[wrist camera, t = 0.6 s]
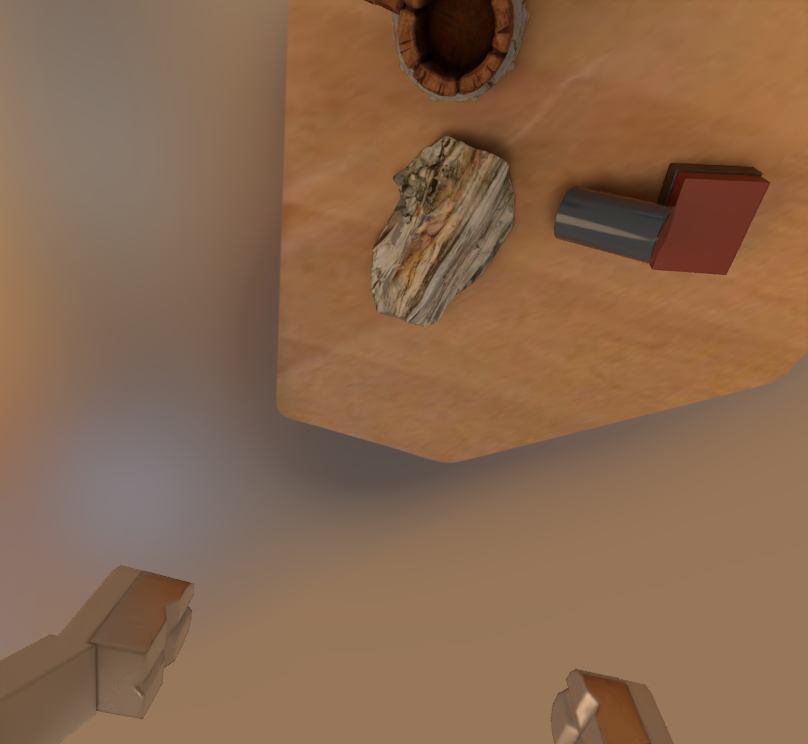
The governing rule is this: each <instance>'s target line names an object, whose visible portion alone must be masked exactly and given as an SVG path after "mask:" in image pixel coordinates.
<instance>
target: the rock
mask: <svg viewBox="0 0 808 744" xmlns="http://www.w3.org/2000/svg"><path fill="white" fill-rule="evenodd" d="M508 171H509V165H508V164H507V162H506V161H504V160H503V159H501V158H500V157H498V156H495V155H493V154H492V153H490V152H487V151H483V150H478V149H474V148H472V147H470V146H468V145H467V144H465V143H464V142H462V141H461V140H455V139H454V138H451V137H448V136H444V137H443V138H442V139H440V140H439V141H438V142H437V143H435V144H434V145H432V146H431V147H425V148H424V149H423V151H422V152H421V153H420V154H419V156H418V157H416V158H414V161H412V162H411V165H409V166H408V167H407V168H406V169H404V170H403V171H401V172H400V173H398V174H396V175H395V176H394V177H393V179H394V181H395V182H396V184H397V185H398V187H399V190H400V193H401V195H400V197H401V199H400V201H399V203H398V204H397V206H396V209H395V211H394V213H393V215H392V217H391V219H390V220H389V224H388V225H387V226H385V228H384V230H383V232H382V234H381V235H380V237H379V239H378V241H377V242H376V244H375V245H374V248H373V257H374V259H373V267H372V271H371V276H370V283H371V290H372V293H373V297H374V301H375V304H376V310H377V312H379V313H382V314H385V315H389V316H392V317H396V318H399V319H401V320H404V321H406V322H408V323H411V324H415V325H419V326H423V327H427V326H429V325H431V324H432V323H435V322H437V321H438V320H439V319H440V317H441V315H442V314H443V312H444V310H445V308H446V306H447V305H448V303H449V302H451V301H452V300H453V298H454V297H455V295H456V294H458V293H460V292H461V291H462V290H464V289H465V288H466V287H468V286H469V285H471V284H472V283H473V282H474V281H475V280H476V279H477V278H479V277H480V276H481V274H482V273H483V272H484V271H485V269H486V268H487V267H488V265H489V263H490V262H491V261H492V259H493V257H494V256H495V254H496V252H497V251H498V249H499V248H500V246H501V244H502V243H503V242H504V240H505V238H506V236H507V235H508V233H509V231H510V230H511V229H512V227H513V225H514V206H515V194H514V191H513V188H512V184H511V181H510V175H509V172H508Z"/></svg>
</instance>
